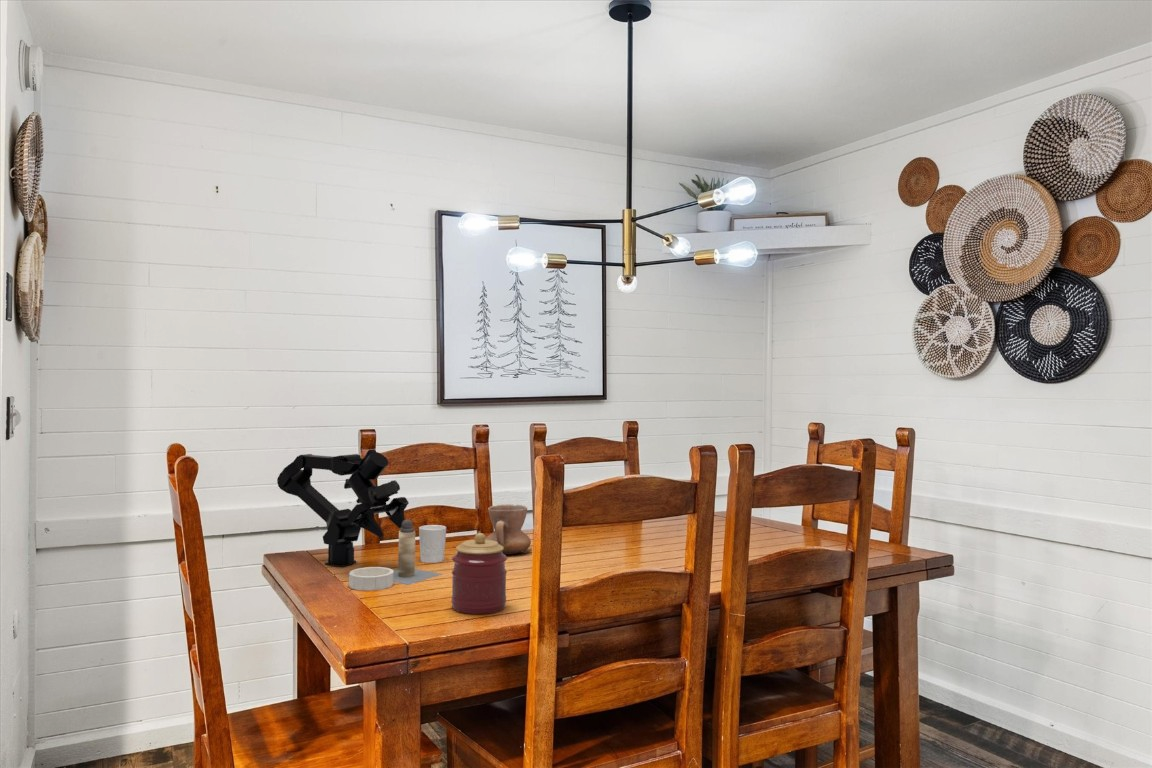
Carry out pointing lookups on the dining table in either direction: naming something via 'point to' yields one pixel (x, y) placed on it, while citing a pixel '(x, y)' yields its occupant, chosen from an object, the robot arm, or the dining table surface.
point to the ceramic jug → (509, 527)
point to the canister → (479, 576)
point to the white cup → (432, 543)
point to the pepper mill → (406, 550)
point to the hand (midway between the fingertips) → (394, 533)
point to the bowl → (371, 578)
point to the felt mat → (414, 577)
